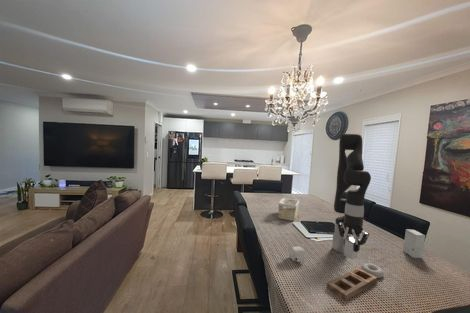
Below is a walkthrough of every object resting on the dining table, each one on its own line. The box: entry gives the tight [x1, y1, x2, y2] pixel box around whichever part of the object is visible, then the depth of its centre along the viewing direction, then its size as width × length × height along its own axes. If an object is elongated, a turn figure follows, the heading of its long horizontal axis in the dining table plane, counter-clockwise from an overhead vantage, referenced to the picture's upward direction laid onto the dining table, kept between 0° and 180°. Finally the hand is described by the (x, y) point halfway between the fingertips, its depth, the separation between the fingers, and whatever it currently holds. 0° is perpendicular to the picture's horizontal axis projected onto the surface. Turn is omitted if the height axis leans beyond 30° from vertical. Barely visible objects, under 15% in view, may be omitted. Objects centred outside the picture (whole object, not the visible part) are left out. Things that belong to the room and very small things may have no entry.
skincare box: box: [402, 228, 426, 259], centre depth 129 cm, size 8×6×15 cm
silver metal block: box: [343, 236, 359, 260], centre depth 96 cm, size 4×4×8 cm
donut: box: [360, 262, 385, 279], centre depth 109 cm, size 10×4×10 cm
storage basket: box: [277, 197, 300, 222], centre depth 191 cm, size 24×16×15 cm
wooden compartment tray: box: [326, 267, 378, 302], centre depth 98 cm, size 9×26×3 cm, turn 121°
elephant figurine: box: [287, 243, 307, 263], centre depth 118 cm, size 10×12×9 cm
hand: (351, 248), depth 96 cm, fingers closed on silver metal block, 4 cm apart
